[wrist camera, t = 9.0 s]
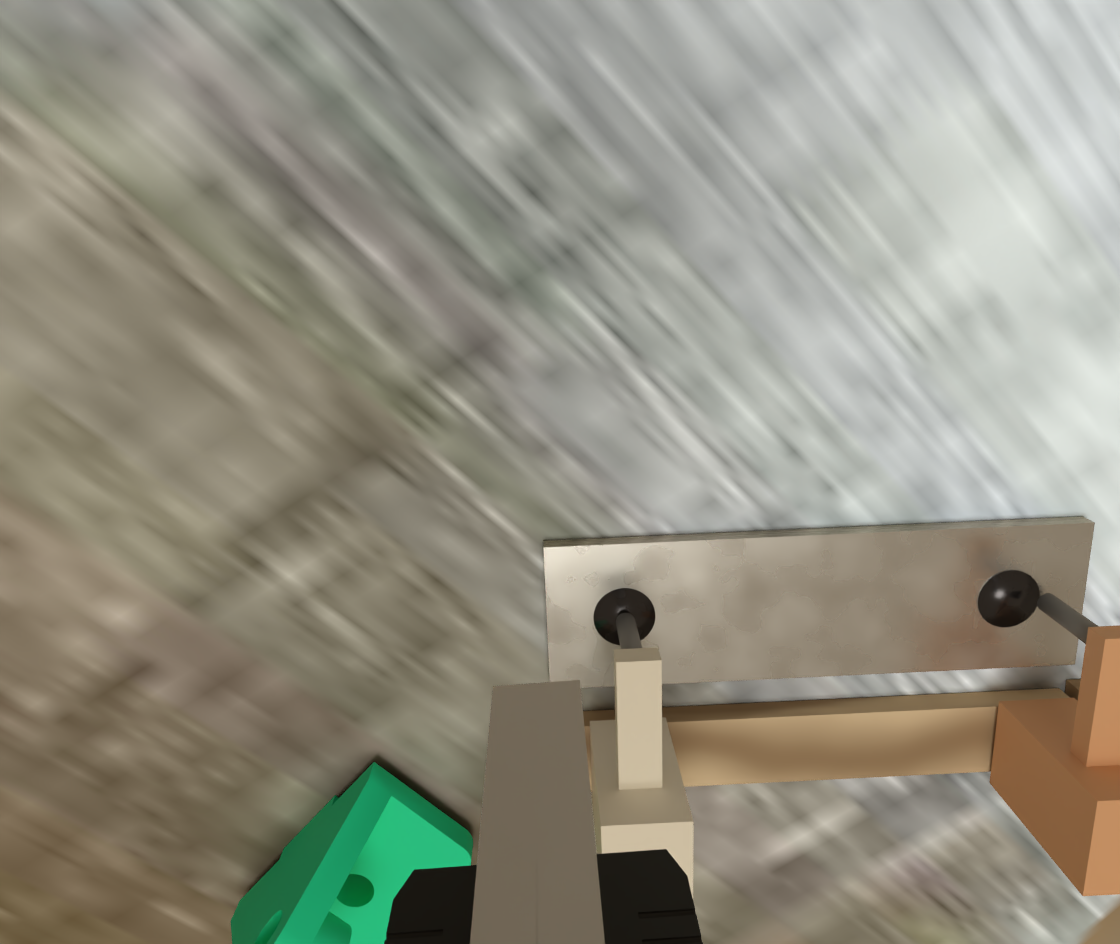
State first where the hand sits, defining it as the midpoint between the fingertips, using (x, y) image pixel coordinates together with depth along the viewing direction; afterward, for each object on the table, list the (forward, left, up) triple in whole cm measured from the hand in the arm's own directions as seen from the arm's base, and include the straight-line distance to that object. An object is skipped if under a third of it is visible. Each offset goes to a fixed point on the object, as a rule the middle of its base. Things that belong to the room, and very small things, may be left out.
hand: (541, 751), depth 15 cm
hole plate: (+11, +14, -28) cm, 33 cm away
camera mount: (+25, -11, -29) cm, 40 cm away
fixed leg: (+15, +4, -27) cm, 31 cm away
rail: (+19, +14, -28) cm, 37 cm away
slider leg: (+15, +26, -27) cm, 40 cm away
